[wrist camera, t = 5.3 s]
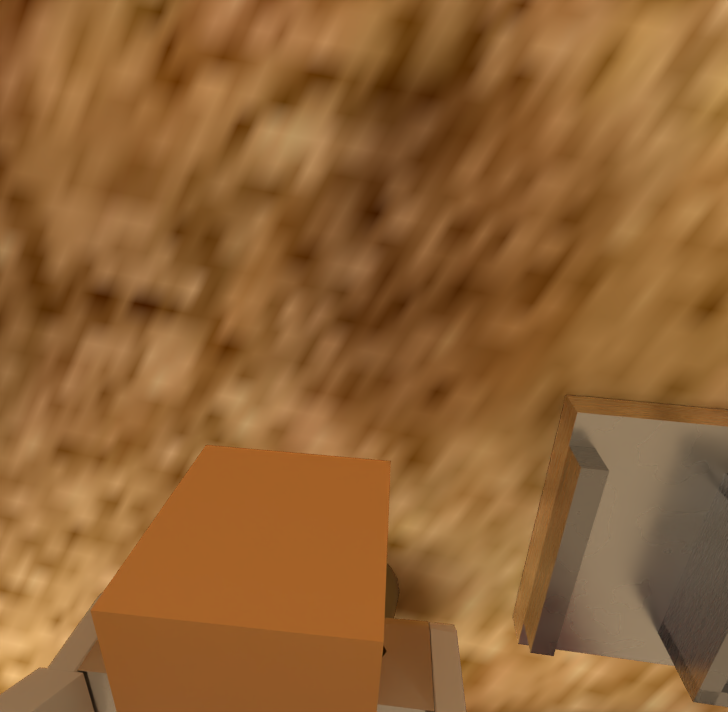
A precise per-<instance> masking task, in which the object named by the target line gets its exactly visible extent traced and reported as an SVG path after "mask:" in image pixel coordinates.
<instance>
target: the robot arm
mask: <svg viewBox="0 0 728 712" xmlns="http://www.w3.org/2000/svg"><path fill="white" fill-rule="evenodd" d="M102 593H103V592H102ZM102 593H101V594H100V595H99V596H98V597H97V599H96V600H95V601H94V603H93V604H92V606H91V607H90V609H89V610H88V611H87V613H86V614H85V616H84V617H83V618H82V620H81V621H80V623H79V624H78V625H77V627H76V628H75V630H74V631H73V633H72V634H71V635H70V637H69V638H68V640H67V641H66V642H65V644H64V645H63V647H62V648H61V649H60V651H59V652H58V654H57V655H56V657H55V658H54V659H53V661H52V662H51V664H50V665H49V666H48V668H38V669H37V670H35V671H34V672H32V673H31V674H30V675H28V676H27V677H25V678H24V679H22V680H21V681H19V682H18V683H16V684H15V685H13V686H12V687H10V688H9V689H8V690H6V691H5V692H3V693H2V694H0V712H117V711H116V707H115V704H114V700H113V696H112V692H111V688H110V684H109V680H108V677H107V673H106V669H105V665H104V661H103V657H102V653H101V650H100V646H99V642H98V638H97V634H96V630H95V626H94V623H93V619H92V615H91V611H90V610H91V609H92V607H93V606H94V605H95V603H96V602H97V600H98V599H99V597H100V596H101V595H102ZM377 712H466V706H465V698H464V689H463V681H462V673H461V664H460V656H459V648H458V639H457V631H456V629H455V626H454V625H453V624H441V623H430V622H429V623H428V621H418V620H406V619H395V618H385V620H384V644H383V654H382V664H381V674H380V684H379V694H378V704H377Z"/></svg>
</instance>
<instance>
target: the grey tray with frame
mask: <svg viewBox="0 0 728 712" xmlns="http://www.w3.org/2000/svg"><path fill="white" fill-rule="evenodd" d="M513 621H514V626H515V631H516V636H517V641H518V644H523V645H529V648H530V653H536V654H543V655H550V656H554V652H555V649H558V650H565V651H572V652H580V653H587V654H594V655H601V656H608V657H615V658H622V659H629V660H636V661H643V662H650V663H658V664H665V665H672V666H675V668H676V670H677V672H678V673H679V675H680V677H681V679H682V681H683V683H684V685H685V687H686V689H687V691H688V693H689V695H690V697H691V699H692V701H693V702H697V703H704V704H711V705H717V706H724V707H728V410H724V409H713V408H702V407H692V406H681V405H670V404H659V403H648V402H638V401H627V400H616V399H605V398H594V397H584V396H573V395H566V397H565V401H564V406H563V410H562V414H561V418H560V422H559V426H558V430H557V435H556V439H555V443H554V447H553V451H552V455H551V459H550V464H549V468H548V472H547V476H546V480H545V484H544V488H543V493H542V497H541V501H540V505H539V509H538V513H537V517H536V522H535V526H534V530H533V534H532V538H531V542H530V546H529V551H528V555H527V559H526V563H525V567H524V571H523V575H522V580H521V584H520V588H519V592H518V596H517V600H516V604H515V609H514V613H513Z"/></svg>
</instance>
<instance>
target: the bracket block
mask: <svg viewBox="0 0 728 712" xmlns="http://www.w3.org/2000/svg"><path fill="white" fill-rule="evenodd" d="M390 463H391V461H384V460H372V459H361V458H349V457H338V456H327V455H315V454H304V453H292V452H281V451H270V450H258V449H247V448H235V447H224V446H213V445H206V446H205V447H204V449H203V450H202V452H201V453H200V455H199V456H198V457H197V459H196V460H195V462H194V463H193V465H192V466H191V467H190V469H189V470H188V472H187V473H186V475H185V476H184V477H183V479H182V480H181V482H180V483H179V485H178V486H177V487H176V489H175V490H174V492H173V493H172V495H171V496H170V497H169V499H168V500H167V502H166V503H165V505H164V506H163V507H162V509H161V510H160V512H159V513H158V515H157V516H156V517H155V519H154V520H153V522H152V523H151V525H150V526H149V527H148V529H147V530H146V532H145V533H144V535H143V536H142V537H141V539H140V540H139V542H138V543H137V545H136V546H135V547H134V549H133V550H132V552H131V553H130V555H129V556H128V557H127V559H126V560H125V562H124V563H123V565H122V566H121V567H120V569H119V570H118V572H117V573H116V575H115V576H114V577H113V579H112V580H111V582H110V583H109V585H108V586H107V587H106V589H105V590H104V592H103V593H102V595H101V596H100V597H99V599H98V600H97V602H96V603H95V605H94V606H93V607H92V609H91V610H90V611H91V615H92V619H93V623H94V626H95V630H96V634H97V638H98V642H99V646H100V650H101V653H102V657H103V661H104V665H105V669H106V673H107V677H108V680H109V684H110V688H111V692H112V696H113V700H114V704H115V707H116V711H117V712H377V704H378V694H379V684H380V674H381V664H382V654H383V644H384V620H385V594H386V567H387V541H388V515H389V489H390Z"/></svg>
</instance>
